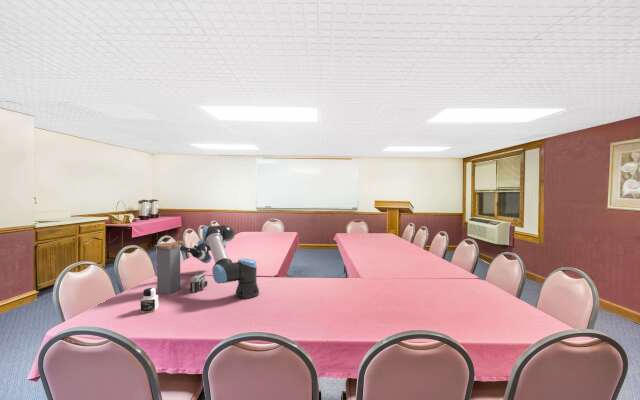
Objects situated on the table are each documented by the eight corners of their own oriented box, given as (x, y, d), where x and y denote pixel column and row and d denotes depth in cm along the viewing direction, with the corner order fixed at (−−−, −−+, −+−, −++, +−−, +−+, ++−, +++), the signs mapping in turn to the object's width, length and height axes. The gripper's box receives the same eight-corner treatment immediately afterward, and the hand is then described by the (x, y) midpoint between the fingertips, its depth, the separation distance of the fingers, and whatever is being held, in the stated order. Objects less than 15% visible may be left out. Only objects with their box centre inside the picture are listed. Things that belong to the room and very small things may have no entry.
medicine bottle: (140, 312, 159) (140, 291, 158) (144, 307, 165) (144, 287, 165) (154, 311, 160) (154, 290, 160) (158, 306, 167) (158, 286, 167)
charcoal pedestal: (167, 287, 201) (167, 245, 200) (180, 288, 199) (180, 245, 198) (157, 292, 191) (156, 248, 190) (170, 293, 189) (170, 248, 188)
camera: (202, 292, 191) (202, 278, 191) (189, 292, 191) (189, 278, 191) (210, 286, 205) (210, 272, 205) (198, 286, 205) (198, 272, 205)
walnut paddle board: (175, 243, 209) (175, 240, 209) (189, 243, 207) (189, 241, 207) (153, 248, 188) (153, 245, 188) (168, 249, 186) (168, 246, 186)
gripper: (211, 258, 224) (196, 249, 205) (182, 257, 228) (166, 248, 210) (213, 249, 227) (199, 240, 209) (185, 248, 232) (169, 239, 214)
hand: (182, 244), depth 209 cm, fingers open, 13 cm apart
